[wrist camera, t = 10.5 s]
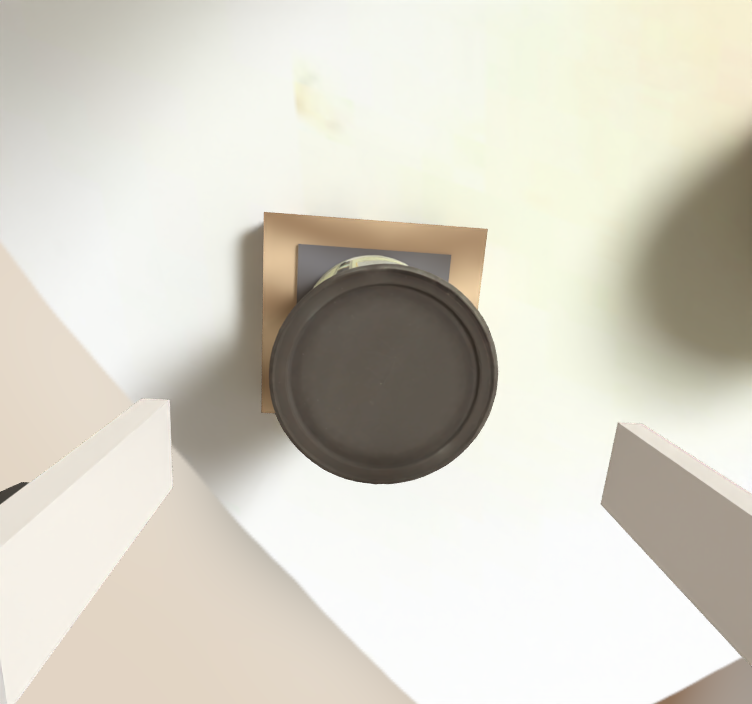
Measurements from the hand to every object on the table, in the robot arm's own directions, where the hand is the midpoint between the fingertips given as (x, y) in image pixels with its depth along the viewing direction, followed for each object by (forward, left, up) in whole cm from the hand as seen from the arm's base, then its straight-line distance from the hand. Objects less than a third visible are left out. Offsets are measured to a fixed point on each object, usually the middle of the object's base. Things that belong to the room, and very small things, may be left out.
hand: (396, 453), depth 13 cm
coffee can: (0, 0, -21) cm, 21 cm away
